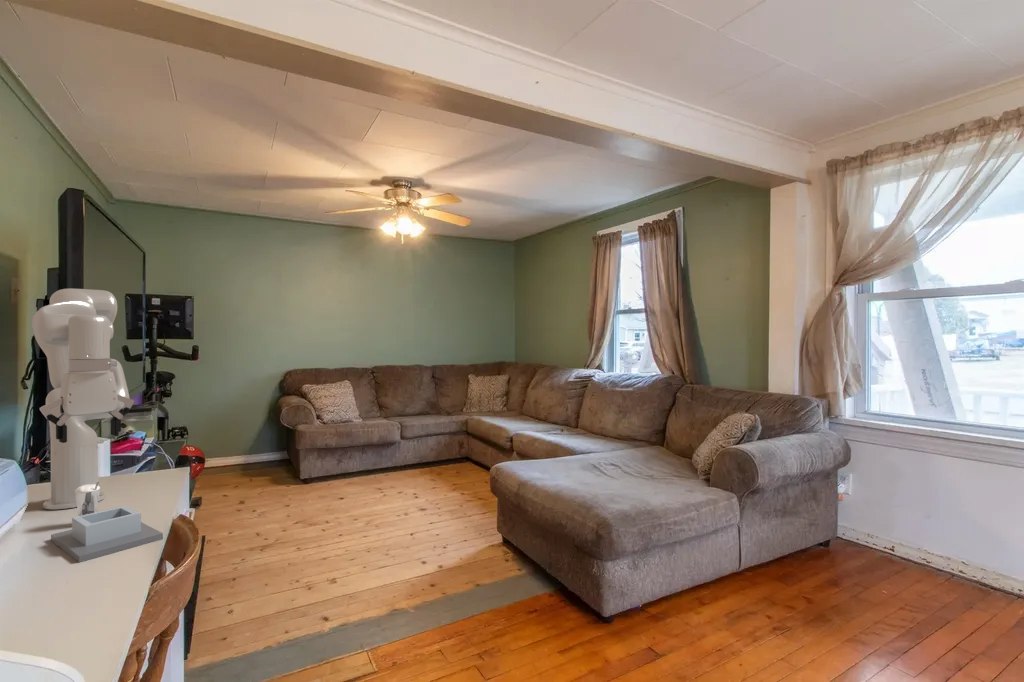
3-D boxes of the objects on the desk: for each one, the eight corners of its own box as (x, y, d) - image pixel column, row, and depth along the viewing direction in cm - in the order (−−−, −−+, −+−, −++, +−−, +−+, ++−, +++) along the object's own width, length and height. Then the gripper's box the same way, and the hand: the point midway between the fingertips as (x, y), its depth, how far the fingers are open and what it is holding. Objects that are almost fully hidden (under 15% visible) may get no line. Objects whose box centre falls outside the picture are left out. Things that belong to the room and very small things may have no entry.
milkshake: (88, 527, 114) (88, 484, 114) (69, 526, 115) (69, 483, 116) (107, 520, 119) (107, 479, 119) (90, 519, 120) (89, 478, 120)
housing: (51, 540, 107) (50, 516, 107) (129, 520, 119) (128, 499, 119) (79, 562, 96) (79, 535, 96) (162, 538, 107) (162, 514, 107)
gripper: (127, 364, 126) (127, 431, 126) (35, 368, 112) (35, 443, 112) (138, 365, 122) (139, 434, 122) (44, 369, 108) (44, 447, 108)
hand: (89, 438), depth 117 cm, fingers open, 9 cm apart
